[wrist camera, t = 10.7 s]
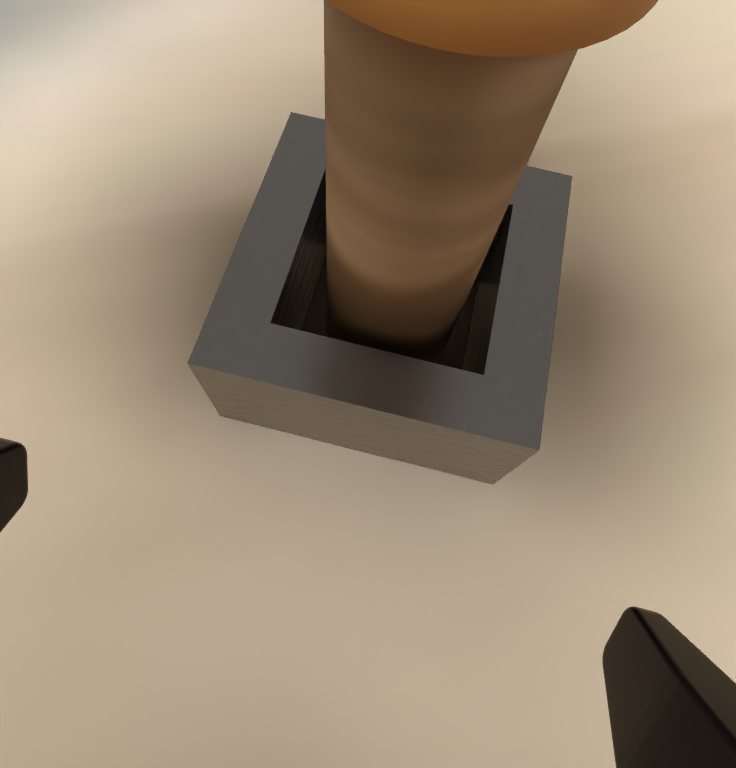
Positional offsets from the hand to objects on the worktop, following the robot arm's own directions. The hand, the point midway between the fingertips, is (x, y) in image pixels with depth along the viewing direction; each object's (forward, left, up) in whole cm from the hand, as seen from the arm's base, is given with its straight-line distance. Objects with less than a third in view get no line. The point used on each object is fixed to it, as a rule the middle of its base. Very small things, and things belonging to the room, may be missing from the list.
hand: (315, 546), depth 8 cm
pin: (+6, +5, -8) cm, 11 cm away
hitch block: (+6, +5, -8) cm, 12 cm away
